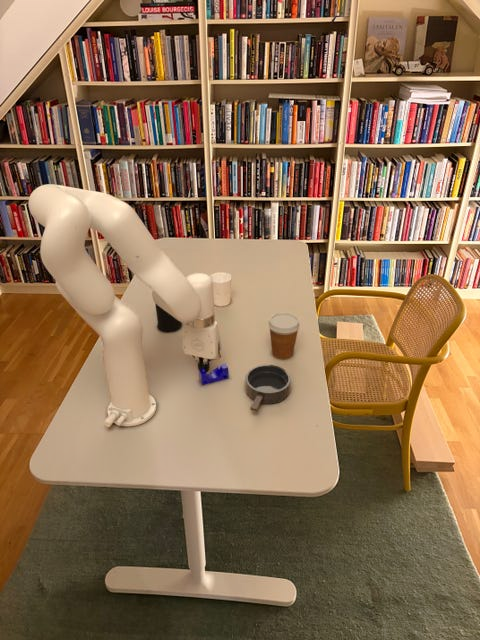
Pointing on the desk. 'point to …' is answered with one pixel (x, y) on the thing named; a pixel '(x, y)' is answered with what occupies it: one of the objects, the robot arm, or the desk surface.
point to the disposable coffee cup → (283, 334)
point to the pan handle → (257, 402)
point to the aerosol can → (166, 321)
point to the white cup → (221, 288)
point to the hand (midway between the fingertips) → (203, 372)
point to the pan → (268, 383)
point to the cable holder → (214, 375)
